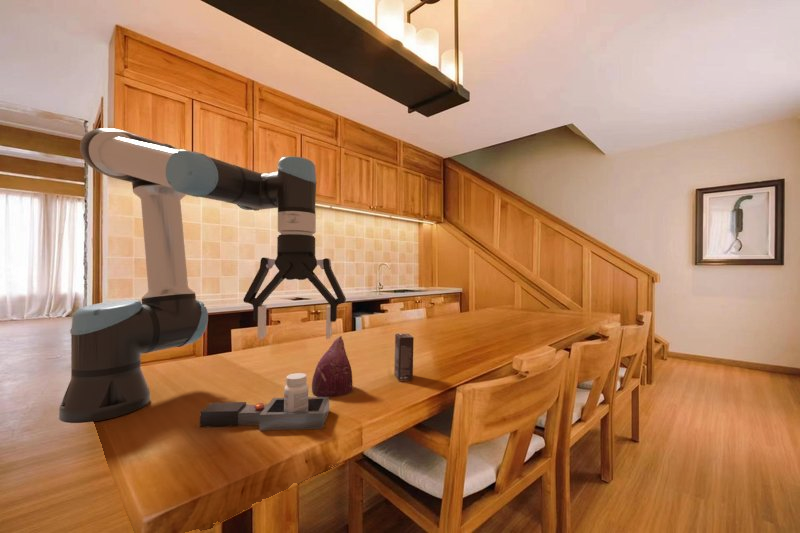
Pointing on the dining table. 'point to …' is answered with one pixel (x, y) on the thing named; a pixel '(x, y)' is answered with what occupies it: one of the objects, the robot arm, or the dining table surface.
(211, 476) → the dining table surface
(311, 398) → the shallow gray tray
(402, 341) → the box
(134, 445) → the dining table surface
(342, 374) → the vegetable
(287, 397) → the pill bottle
